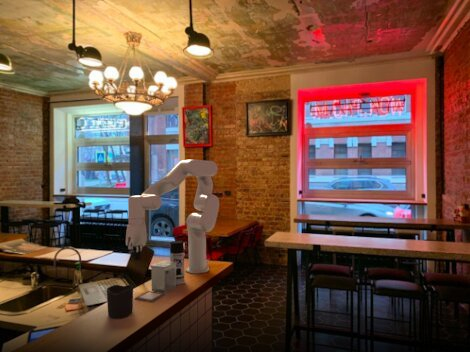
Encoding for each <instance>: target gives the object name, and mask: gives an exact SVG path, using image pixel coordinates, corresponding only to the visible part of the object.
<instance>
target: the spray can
mask: <svg viewBox="0 0 470 352" xmlns="http://www.w3.org/2000/svg"><path fill="white" fill-rule="evenodd" d="M169 248H170V249H169V252H170V253H169V254H170V255H169V256H170V258H169V259H170V260H169V261H173V262H177V264H176V286H179V285H183V284H185V247H184V241H182V240H172V241H170V247H169Z"/></svg>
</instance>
